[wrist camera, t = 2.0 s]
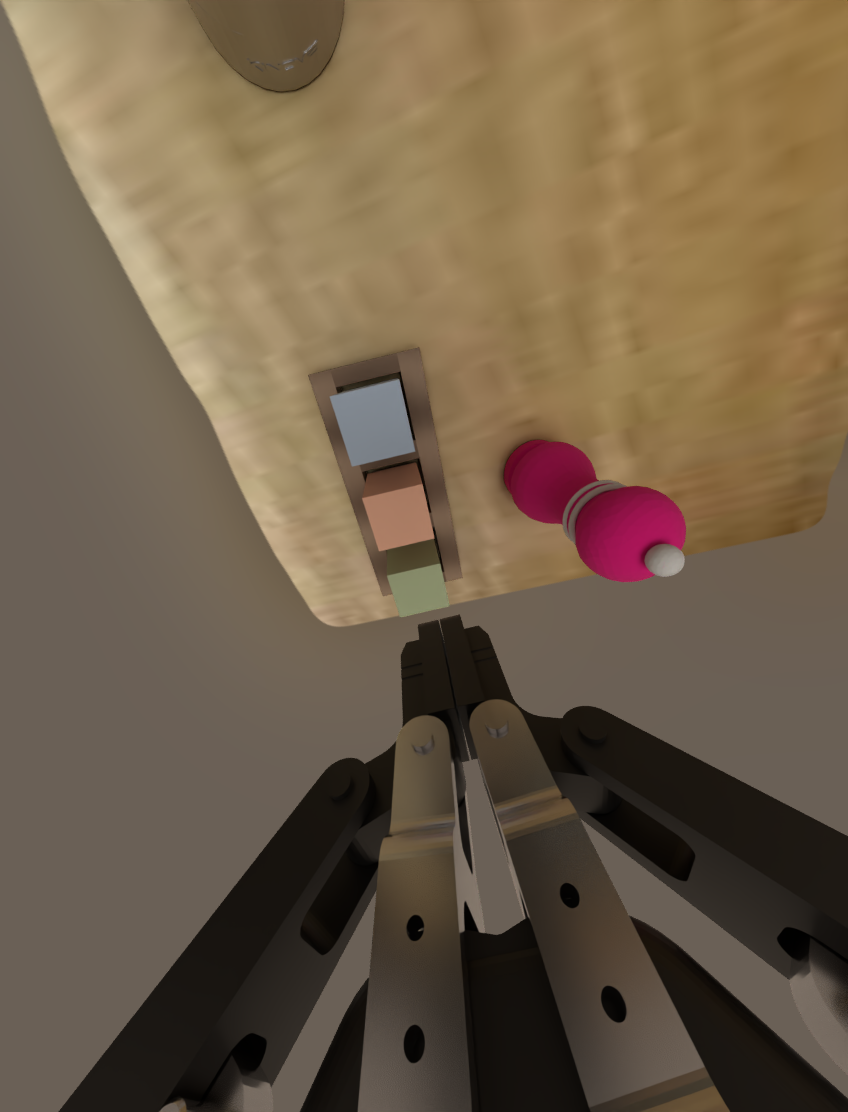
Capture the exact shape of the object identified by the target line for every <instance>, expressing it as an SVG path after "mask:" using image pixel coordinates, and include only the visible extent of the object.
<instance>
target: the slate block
mask: <svg viewBox="0 0 848 1112" xmlns="http://www.w3.org/2000/svg"><path fill="white" fill-rule="evenodd" d="M330 399H331V403H332V406H333V409H334V412H335V415H336V418H337V421H338V424H339V428H340V431H341V434H342V437H343V440H344V443H345V446H346V449H347V453H348V456H349V459H350V462H351V465H352V467H353V466H357V465H361V464H365V463H369V462H374V461H378V460H382V459H386V458H390V457H394V456H398V455H403V454H407V453H411V452H415V448H414V444H413V439H412V435H411V430H410V426H409V421H408V417H407V412H406V408H405V403H404V399H403V394H402V390H401V385H400V381H399V379H398V378H395V379H391V380H387V381H383V382H379V383H375V384H371V385H367V386H363V387H359V388H355V389H351V390H347V391H343V392H340V393H338V394H335V395H333V396H330Z"/></svg>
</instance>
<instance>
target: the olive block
mask: <svg viewBox="0 0 848 1112" xmlns="http://www.w3.org/2000/svg"><path fill="white" fill-rule="evenodd" d="M387 578H388V581H389V584H390V587H391V590H392V593H393V596H394V599H395V603H396V606H397V609H398V612H399V615H400V617H404V616H408V615H413V614H417V613H422V612H426V611H430V610H435V609H439V608H444V607H448V606H450V605H449V601H448V596H447V592H446V587H445V583H444V578H443V574H442V569H441V565H440V561H439V557H438V553H437V550H436V546H435V542H434V539H430V540H426V541H421V542H417V543H413V544H409V545H404V546H400V547H396V548H392V549H387Z"/></svg>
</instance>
